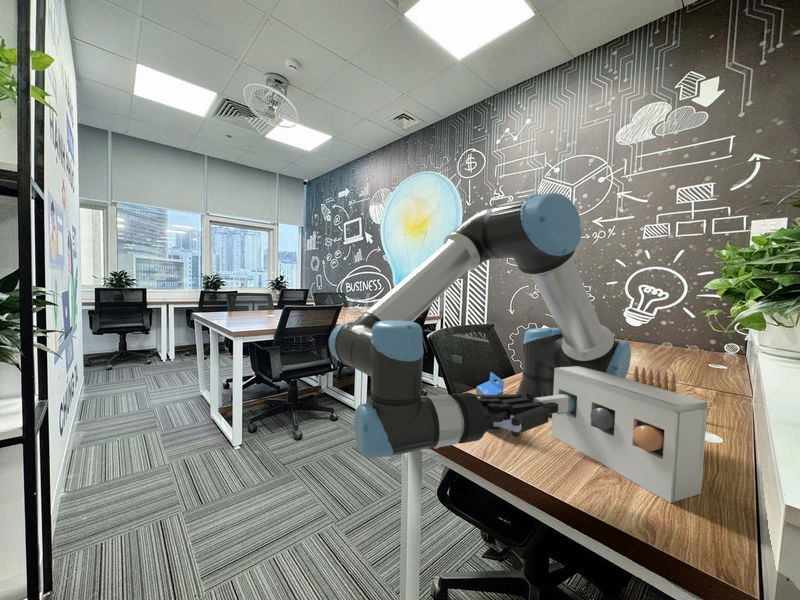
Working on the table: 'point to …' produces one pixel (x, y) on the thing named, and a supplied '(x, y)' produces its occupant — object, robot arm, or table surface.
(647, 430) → the terracotta button
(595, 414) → the charcoal button
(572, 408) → the teal button
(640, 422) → the console
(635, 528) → the table surface
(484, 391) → the label tape cartridge
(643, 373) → the ammunition clip
